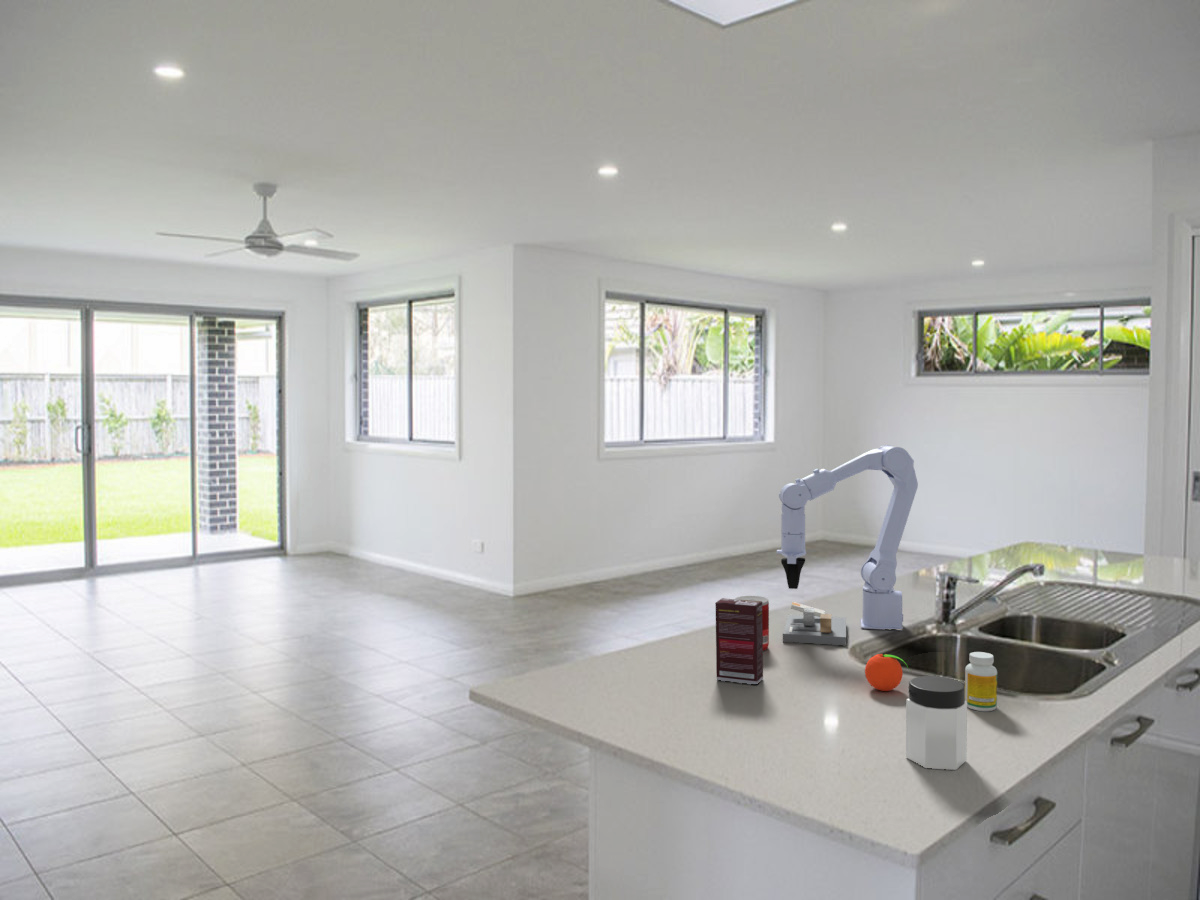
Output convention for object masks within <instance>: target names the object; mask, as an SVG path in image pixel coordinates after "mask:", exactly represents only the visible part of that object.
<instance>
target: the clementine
mask: <svg viewBox="0 0 1200 900" xmlns="http://www.w3.org/2000/svg"><path fill="white" fill-rule="evenodd" d="M898 660H900V661H902V662H903V664H904V665H906V667H907V668H909V667H908V664H907V663H906V662H905V661H904V660H903V659H902V658H900V657H899V656H897V655H893V654H886V653H878V654H875V655H874V656H872V657H870V658H869V659H868V661H867V662H866V665H865V668H864V673H865V675H864V676H865V678H866V680H867V682H868V683H869V685H870V686H871V687H873V688H874V689H875V690H879V691H882V692H889V691H893V690H894V689H896V688H897V687H898V686H899V685H900V684H901V682H902V680H903V675H904V673H903V668H902V665H901V663H900V662H899V661H898Z"/></svg>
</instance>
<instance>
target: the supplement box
mask: <svg viewBox="0 0 1200 900" xmlns="http://www.w3.org/2000/svg"><path fill="white" fill-rule="evenodd" d="M714 605H715V655H716V658H715V659H716V681H717V680H721V681H720V682H725V681H731V682H730V683H733V682H740V683H739V684H742V683H747V684H746V685H751V684H758V683H759V682H760V681H761V680H762V681H763V679H764V651H763V620H762V601H750V600H738V599H735V598H725V597H722V598H720V599H718V600H717V601H716V602H715V604H714ZM762 681H761V682H762ZM761 682H760V683H761ZM760 683H759V684H760ZM759 684H758V685H759Z"/></svg>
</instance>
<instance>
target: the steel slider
mask: <svg viewBox="0 0 1200 900" xmlns="http://www.w3.org/2000/svg"><path fill="white" fill-rule="evenodd" d="M815 608H816V607H813V608H804V612H802V613H803V614H802V615H803V625H809V626H814V621H815Z"/></svg>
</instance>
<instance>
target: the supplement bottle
mask: <svg viewBox="0 0 1200 900" xmlns="http://www.w3.org/2000/svg"><path fill="white" fill-rule="evenodd" d="M994 659H995V658H994V655H993V654H991V653H989V652H983V651H974V652H970V653H969V662H970V663H968V664H967V665H965V668H964V686H965V701H966V702H967V709H970V710H974V711H978V712H992V711H994V710H996V708H997V704H998V698H997V697H998V670H997V668H996V667H995V666H994V665H993V664H994V662H995V660H994Z"/></svg>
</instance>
